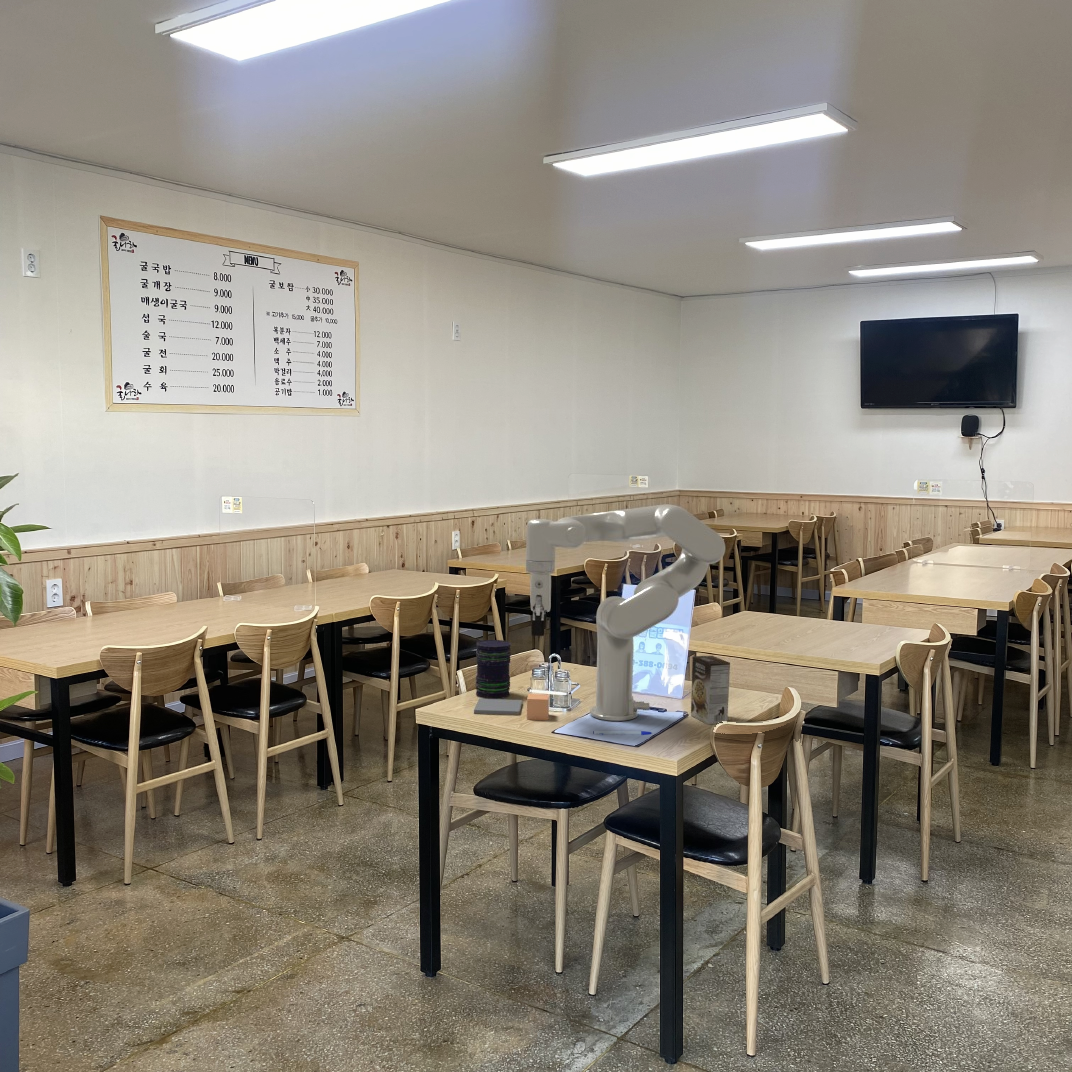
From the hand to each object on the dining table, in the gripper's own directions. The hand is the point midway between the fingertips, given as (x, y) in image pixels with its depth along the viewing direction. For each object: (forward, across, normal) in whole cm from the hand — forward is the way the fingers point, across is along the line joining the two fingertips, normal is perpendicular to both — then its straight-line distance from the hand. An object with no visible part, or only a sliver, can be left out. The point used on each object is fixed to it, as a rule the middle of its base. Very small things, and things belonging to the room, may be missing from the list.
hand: (538, 632), depth 259 cm
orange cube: (+23, 0, 0) cm, 23 cm away
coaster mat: (+22, +7, +11) cm, 26 cm away
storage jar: (+23, +22, +14) cm, 35 cm away
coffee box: (+23, +3, -45) cm, 51 cm away
